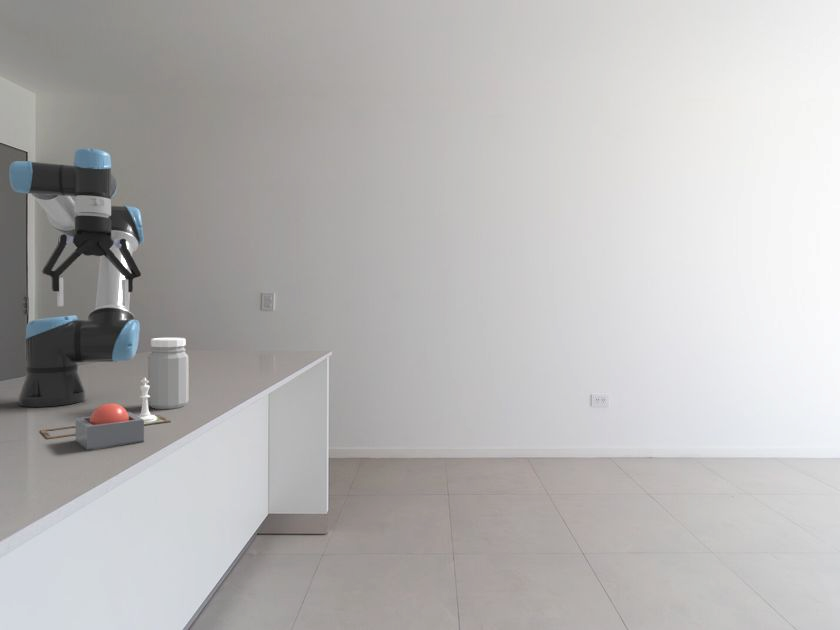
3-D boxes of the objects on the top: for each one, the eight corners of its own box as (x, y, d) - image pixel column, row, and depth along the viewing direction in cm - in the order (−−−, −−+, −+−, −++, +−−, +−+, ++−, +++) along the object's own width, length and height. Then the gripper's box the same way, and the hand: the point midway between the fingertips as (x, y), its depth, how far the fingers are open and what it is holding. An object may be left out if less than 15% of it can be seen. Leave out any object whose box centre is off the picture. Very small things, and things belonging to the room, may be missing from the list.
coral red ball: (85, 437, 113) (85, 403, 113) (123, 432, 118) (123, 399, 117) (94, 444, 108) (93, 408, 108) (133, 438, 112) (133, 404, 112)
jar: (140, 409, 144) (139, 339, 143) (162, 402, 154) (161, 336, 153) (175, 410, 143) (175, 340, 142) (195, 403, 153) (195, 337, 152)
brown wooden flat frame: (40, 431, 120) (40, 430, 120) (158, 415, 136) (158, 414, 136) (47, 439, 114) (47, 438, 114) (170, 421, 130) (170, 421, 130)
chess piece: (146, 423, 127) (146, 379, 127) (128, 422, 128) (127, 379, 128) (161, 418, 132) (161, 376, 132) (143, 417, 133) (143, 376, 133)
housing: (75, 440, 113) (75, 418, 113) (129, 432, 120) (129, 411, 120) (87, 450, 106) (87, 427, 105) (143, 441, 112) (143, 419, 112)
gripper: (32, 208, 121) (33, 306, 122) (154, 220, 138) (154, 306, 139) (26, 212, 127) (28, 305, 127) (144, 222, 143) (145, 305, 144)
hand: (93, 306), depth 133 cm, fingers open, 13 cm apart
